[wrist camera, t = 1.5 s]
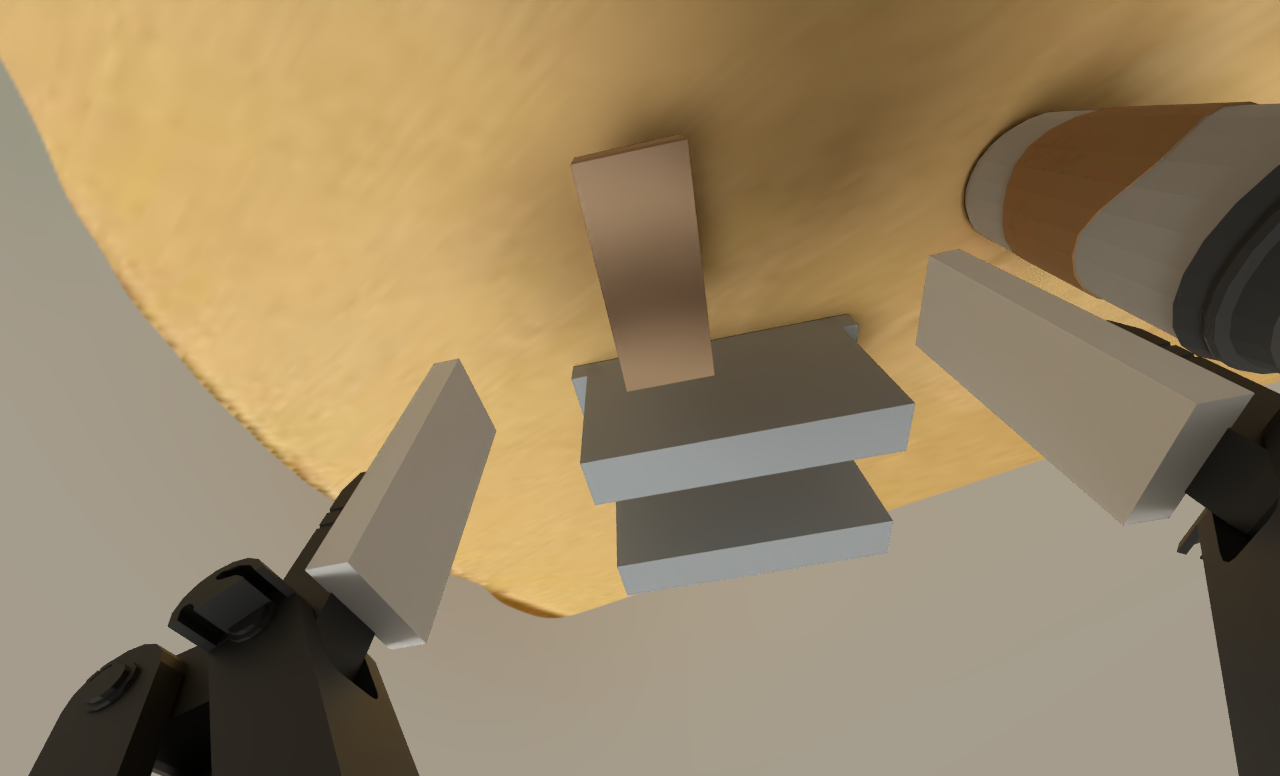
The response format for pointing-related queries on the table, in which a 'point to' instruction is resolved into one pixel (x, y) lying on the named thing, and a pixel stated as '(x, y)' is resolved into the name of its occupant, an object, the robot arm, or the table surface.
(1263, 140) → the coffee cup
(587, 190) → the wooden t-shaped block
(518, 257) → the table surface
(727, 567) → the slot stand
